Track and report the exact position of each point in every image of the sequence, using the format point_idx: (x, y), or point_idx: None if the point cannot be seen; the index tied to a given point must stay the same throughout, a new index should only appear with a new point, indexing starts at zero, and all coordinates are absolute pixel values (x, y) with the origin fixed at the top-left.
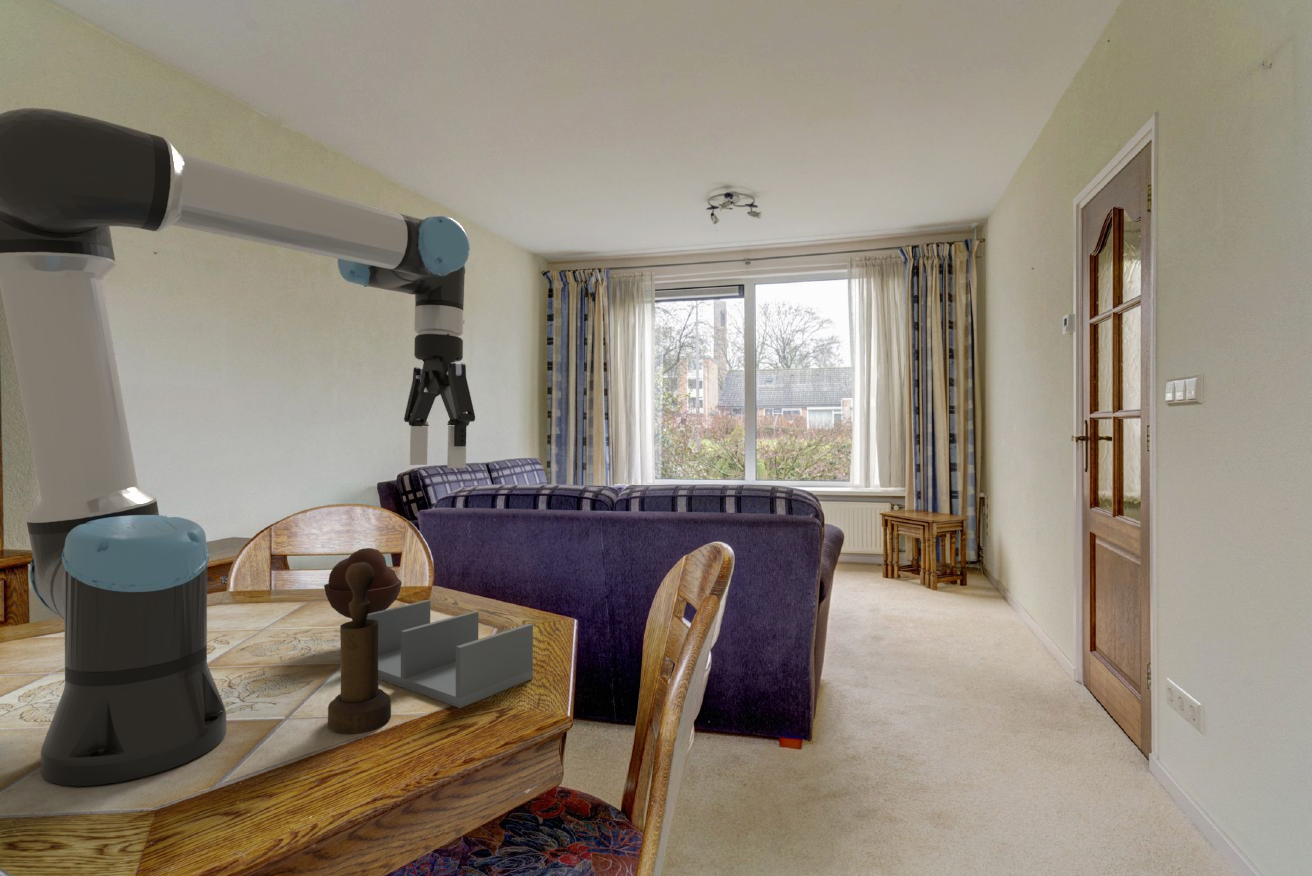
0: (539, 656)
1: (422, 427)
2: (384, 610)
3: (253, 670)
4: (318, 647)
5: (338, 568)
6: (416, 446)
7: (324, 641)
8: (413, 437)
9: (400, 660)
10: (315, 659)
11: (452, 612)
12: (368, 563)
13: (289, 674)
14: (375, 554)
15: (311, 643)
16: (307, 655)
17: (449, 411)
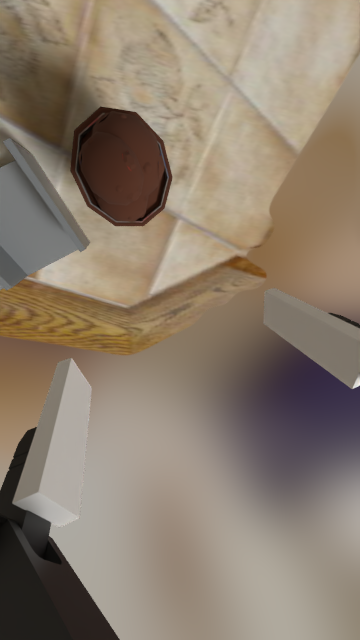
0: (31, 323)
1: (353, 373)
2: (42, 189)
3: (64, 28)
4: None
5: (111, 120)
6: (299, 321)
7: None
8: (325, 327)
9: (19, 204)
10: None
11: (192, 283)
12: (83, 167)
13: (34, 74)
14: (97, 181)
15: None
16: None
17: (6, 621)
